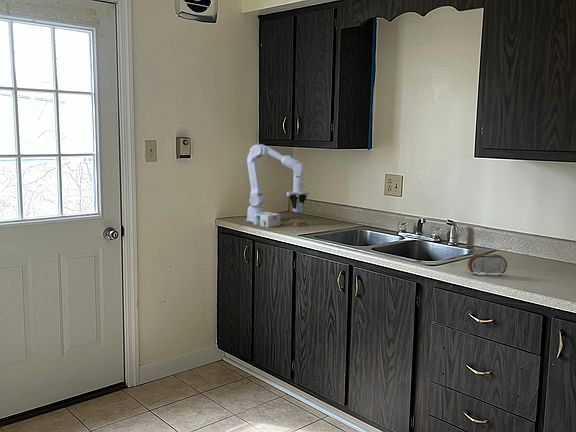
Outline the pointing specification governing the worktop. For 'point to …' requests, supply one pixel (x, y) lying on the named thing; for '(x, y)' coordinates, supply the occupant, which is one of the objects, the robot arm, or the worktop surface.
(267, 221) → the light bulb box
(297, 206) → the blue block
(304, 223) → the walnut slab
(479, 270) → the tin
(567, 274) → the worktop surface
